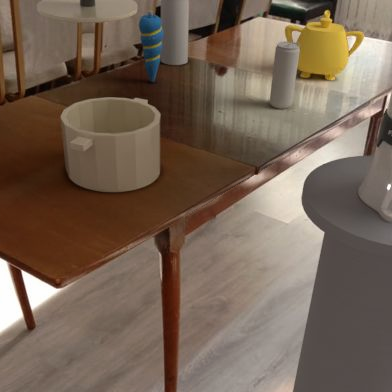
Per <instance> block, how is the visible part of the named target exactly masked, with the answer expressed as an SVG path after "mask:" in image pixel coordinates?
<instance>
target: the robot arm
mask: <svg viewBox="0 0 392 392" xmlns="http://www.w3.org/2000/svg"><path fill="white" fill-rule="evenodd" d="M373 156H374V157H373V160H372V162H371V165H370V167H369V169H368V172H367V174H366V176H365V178H364V180H363V181H362V183H361V185H360V186H359V188H358V195H359V197H360V198H361V200H362V201H363V202H364V203H365V204H367V205H368V206H369V207H371V208H373V209H374V210H376V211H377V212H378V213H379V214H380V216H381V217H382V218H383V219H384V220H385V221H387V222H391V223H392V91H391V93H390V96H389V101H388V105H387V108H385V110H384V112H383V114H382V116H381V119H380V123H379V127H378V131H377V136H376V149H375V152H374V154H373Z"/></svg>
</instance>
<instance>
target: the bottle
mask: <svg viewBox="0 0 392 392" xmlns="http://www.w3.org/2000/svg"><path fill="white" fill-rule="evenodd" d="M189 3H190V0H160V19H161V22H162V24H161V26H162V28H163V32H164V34H163V38H162V50H161V52H160V63H163V64H165V65H169V66H181V65H185V64H188V61H189V60H188V58H189V17H190V16H189V14H190V13H189V7H190V6H189V5H190V4H189Z"/></svg>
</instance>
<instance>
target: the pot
mask: <svg viewBox="0 0 392 392" xmlns="http://www.w3.org/2000/svg"><path fill="white" fill-rule="evenodd" d="M148 101H149V100H148V99H144V98H139V97H134V98H128V97H114V96H112V97H111V96H108V97H97V98H96V97H95V98H88V99H84V100H81V101H78V102H74V103H72V104H70V105H69V106H67V107H66V108H64V109H63V111H62V113H61V114H60V117H59V118H60V126H61V127H60V128H61V136H62V145H63V154H64V164H65V170H66V174H67V177H68V178H69V180H70V181H71V182H73V183H74V184H75V185H77V186H79V187H81V188H84V189H87V190H90V191H94V192H102V193H124V192H130V191H131V192H132V191H135V190H139V189H142V188H145V187H147V186H149V185H151V184H153V183H154V182H156V180H157V179H158V178H159V176H160V174H161V169H162V168H161V167H162V115H161V112H160V111H159V110H158V109H157V108H156V107H155V106H153V105H152V104H149V103H148Z"/></svg>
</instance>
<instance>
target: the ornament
mask: <svg viewBox="0 0 392 392" xmlns="http://www.w3.org/2000/svg"><path fill="white" fill-rule="evenodd" d="M161 24H162V22H161V17H159V16H158V15H156V14H153V9H151V10H148V11H147V14H144V15H142V16H141V17H140V19H139V21H138V28H139V32H140V42H141V45H142V47H143V48H142V54H143V57H144V67H145V70H146V73H147V75H148V78H149V81H150V82H151V83H155V81H156V78H157V77H156V76H157V73H158V69H159V67H160V63H161V50H162V38H163V34H164V32H163V28H162V26H161Z"/></svg>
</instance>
